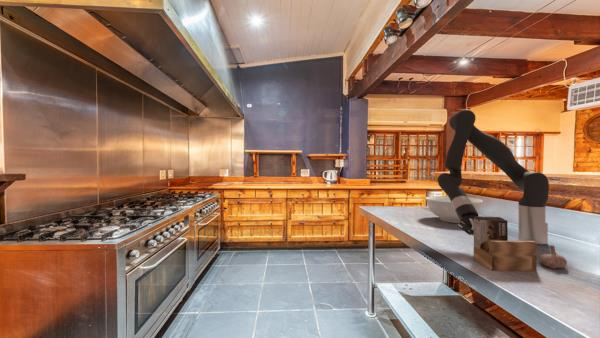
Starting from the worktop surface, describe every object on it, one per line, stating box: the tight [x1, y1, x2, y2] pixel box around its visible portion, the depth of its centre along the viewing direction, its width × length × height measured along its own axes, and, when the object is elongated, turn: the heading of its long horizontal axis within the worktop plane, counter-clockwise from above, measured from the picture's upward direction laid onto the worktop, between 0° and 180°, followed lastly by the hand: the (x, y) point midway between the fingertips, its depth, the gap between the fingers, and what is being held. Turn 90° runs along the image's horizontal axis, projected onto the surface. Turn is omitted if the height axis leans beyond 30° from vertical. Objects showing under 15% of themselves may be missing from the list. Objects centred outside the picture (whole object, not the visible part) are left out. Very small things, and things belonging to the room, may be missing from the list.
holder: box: [473, 240, 538, 272], centre depth 87 cm, size 15×9×10 cm, turn 88°
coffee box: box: [473, 215, 509, 252], centre depth 93 cm, size 9×6×16 cm
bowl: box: [425, 195, 484, 224], centre depth 159 cm, size 32×32×15 cm
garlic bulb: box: [539, 244, 568, 270], centre depth 86 cm, size 8×7×8 cm
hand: (483, 243), depth 97 cm, fingers closed
